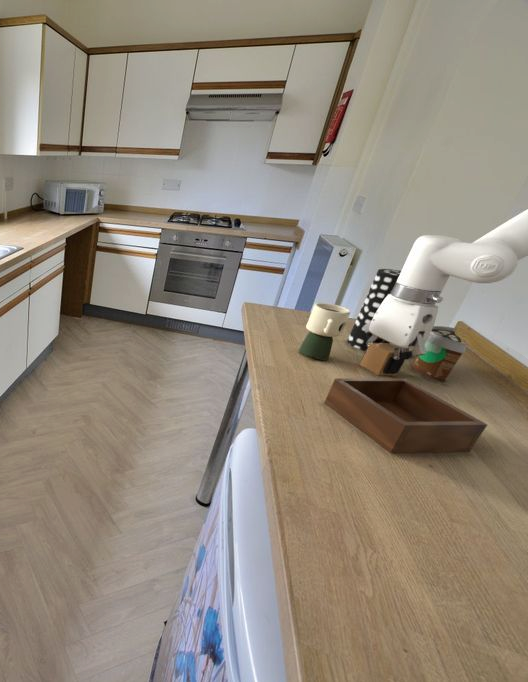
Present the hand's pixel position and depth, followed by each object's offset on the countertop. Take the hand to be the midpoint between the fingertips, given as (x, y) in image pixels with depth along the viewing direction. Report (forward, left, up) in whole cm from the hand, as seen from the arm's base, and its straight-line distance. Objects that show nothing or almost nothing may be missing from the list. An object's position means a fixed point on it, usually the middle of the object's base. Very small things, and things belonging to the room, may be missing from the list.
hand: (379, 366), depth 97 cm
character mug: (+11, -7, -1) cm, 13 cm away
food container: (-12, 0, -1) cm, 12 cm away
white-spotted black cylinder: (-9, -13, -1) cm, 16 cm away
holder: (+17, +21, -1) cm, 27 cm away
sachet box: (0, 0, -1) cm, 1 cm away
